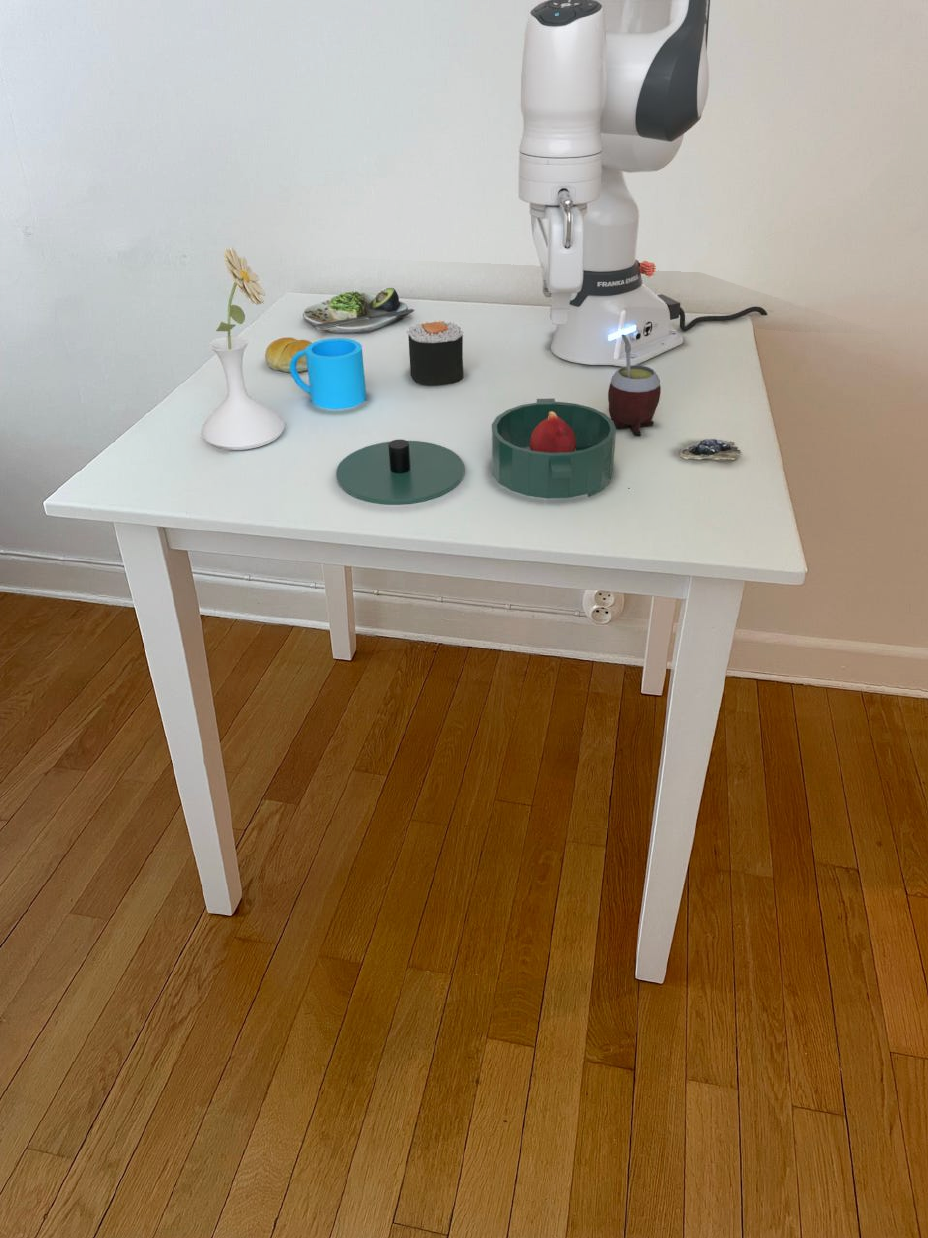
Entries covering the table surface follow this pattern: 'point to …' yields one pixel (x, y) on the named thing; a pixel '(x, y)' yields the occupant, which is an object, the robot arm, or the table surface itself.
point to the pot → (553, 470)
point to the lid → (400, 472)
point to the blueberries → (711, 450)
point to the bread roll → (286, 354)
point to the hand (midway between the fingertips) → (554, 308)
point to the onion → (553, 436)
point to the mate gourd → (633, 395)
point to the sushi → (436, 353)
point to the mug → (333, 373)
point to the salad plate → (357, 312)
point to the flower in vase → (239, 377)
